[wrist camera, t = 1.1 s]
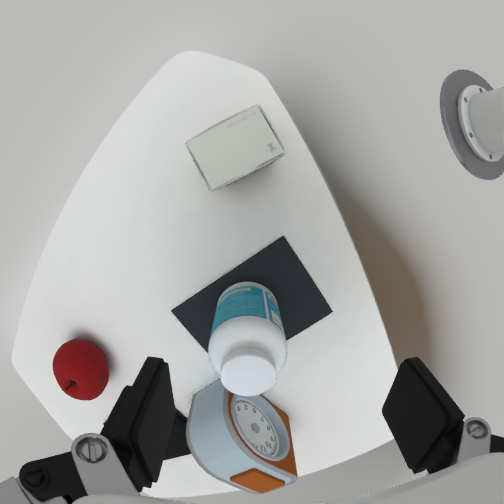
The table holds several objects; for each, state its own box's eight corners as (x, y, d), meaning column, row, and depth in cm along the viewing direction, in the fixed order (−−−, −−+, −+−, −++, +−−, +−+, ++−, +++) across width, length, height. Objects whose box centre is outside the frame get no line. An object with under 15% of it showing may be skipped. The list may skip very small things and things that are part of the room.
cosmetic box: (256, 130, 29) (261, 99, 18) (274, 164, 30) (290, 153, 19) (207, 155, 30) (181, 140, 18) (224, 189, 31) (210, 193, 19)
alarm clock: (294, 417, 40) (306, 482, 27) (256, 438, 41) (258, 500, 28) (231, 370, 37) (226, 443, 24) (192, 395, 38) (177, 464, 25)
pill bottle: (208, 318, 35) (189, 388, 22) (233, 269, 33) (224, 325, 20) (260, 341, 36) (265, 415, 22) (288, 295, 34) (310, 360, 21)
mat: (283, 235, 32) (283, 236, 32) (332, 310, 35) (332, 311, 35) (171, 310, 35) (171, 311, 34) (227, 371, 37) (226, 373, 37)
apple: (61, 331, 36) (28, 364, 26) (102, 327, 35) (69, 365, 26) (85, 377, 38) (59, 413, 28) (125, 377, 38) (102, 419, 28)
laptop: (94, 412, 40) (91, 418, 38) (175, 396, 38) (172, 404, 37) (142, 458, 44) (140, 465, 42) (222, 448, 42) (222, 456, 40)
